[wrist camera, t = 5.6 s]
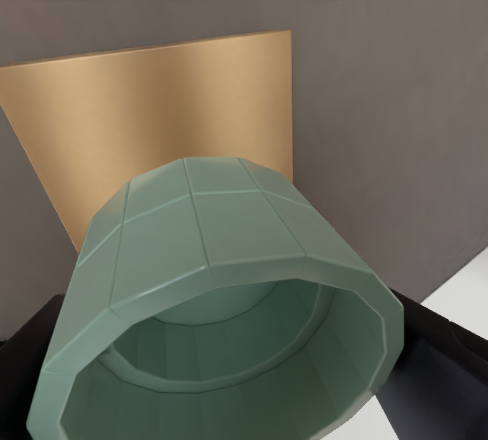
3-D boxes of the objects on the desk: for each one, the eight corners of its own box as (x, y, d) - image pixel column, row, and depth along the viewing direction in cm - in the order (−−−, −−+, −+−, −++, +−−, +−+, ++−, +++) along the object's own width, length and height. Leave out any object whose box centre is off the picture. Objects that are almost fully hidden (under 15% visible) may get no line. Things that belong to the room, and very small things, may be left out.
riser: (107, 264, 20) (100, 297, 18) (12, 62, 13) (-19, 69, 11) (278, 224, 22) (294, 249, 19) (269, 29, 15) (291, 29, 13)
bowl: (106, 344, 11) (80, 523, 7) (58, 150, 7) (-58, 293, 3) (290, 314, 13) (354, 443, 9) (326, 147, 9) (464, 237, 5)
